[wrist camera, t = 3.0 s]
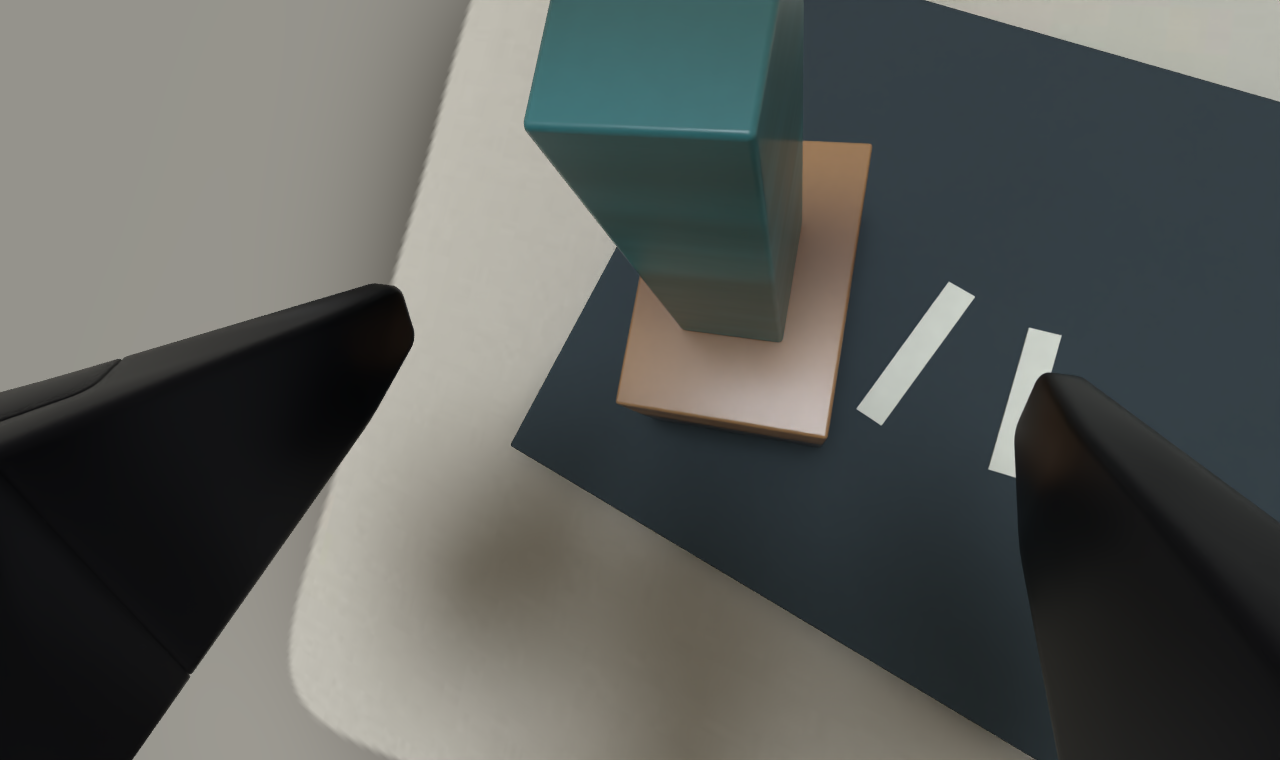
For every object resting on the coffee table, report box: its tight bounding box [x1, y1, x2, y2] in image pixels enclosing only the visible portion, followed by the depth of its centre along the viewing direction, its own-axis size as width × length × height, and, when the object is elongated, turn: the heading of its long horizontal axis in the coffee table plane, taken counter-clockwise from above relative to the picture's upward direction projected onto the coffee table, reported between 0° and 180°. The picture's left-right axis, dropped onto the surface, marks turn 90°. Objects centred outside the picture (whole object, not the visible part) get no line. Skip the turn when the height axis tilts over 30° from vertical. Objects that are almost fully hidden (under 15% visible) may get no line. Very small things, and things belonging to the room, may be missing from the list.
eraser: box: [524, 0, 872, 448], centre depth 12 cm, size 7×5×13 cm
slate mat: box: [511, 0, 1280, 760], centre depth 17 cm, size 18×22×1 cm
